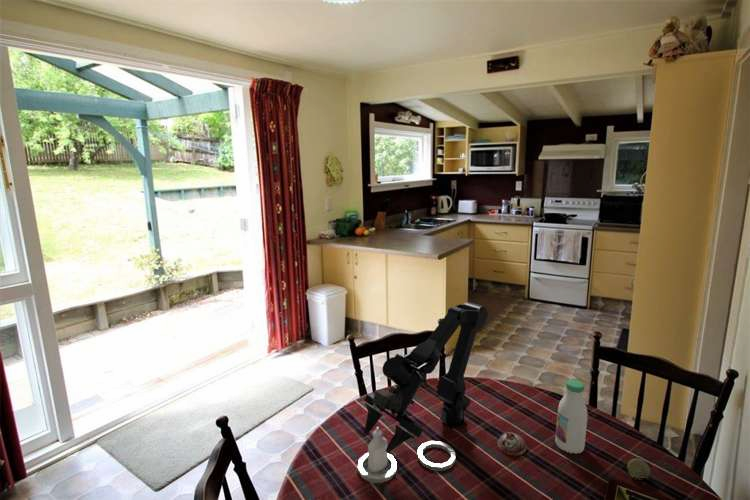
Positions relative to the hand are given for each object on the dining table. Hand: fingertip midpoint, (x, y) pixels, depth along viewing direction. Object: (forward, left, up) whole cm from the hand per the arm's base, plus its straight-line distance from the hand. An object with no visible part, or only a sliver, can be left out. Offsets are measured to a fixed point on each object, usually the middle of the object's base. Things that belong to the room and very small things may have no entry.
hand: (375, 443), depth 107 cm
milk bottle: (-55, +15, -8) cm, 58 cm away
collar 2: (-17, +3, -8) cm, 19 cm away
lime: (-61, +31, -8) cm, 69 cm away
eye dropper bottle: (-1, 0, -8) cm, 8 cm away
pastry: (-40, +8, -8) cm, 42 cm away
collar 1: (0, 0, -8) cm, 8 cm away
